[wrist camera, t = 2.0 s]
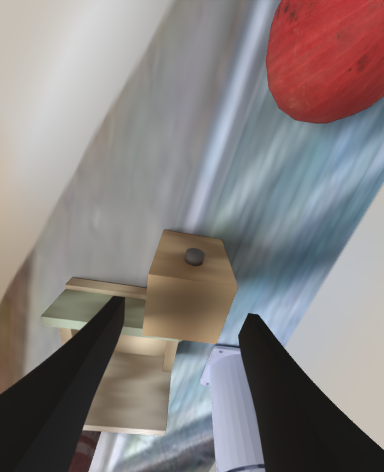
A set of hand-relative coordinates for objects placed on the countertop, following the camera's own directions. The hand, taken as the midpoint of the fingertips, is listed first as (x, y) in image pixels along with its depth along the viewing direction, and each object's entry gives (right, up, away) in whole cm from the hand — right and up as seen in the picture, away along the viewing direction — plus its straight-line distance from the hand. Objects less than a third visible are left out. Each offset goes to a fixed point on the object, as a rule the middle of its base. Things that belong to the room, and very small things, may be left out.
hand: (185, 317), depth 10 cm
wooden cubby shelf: (-7, -4, +9) cm, 12 cm away
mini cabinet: (0, +3, +6) cm, 6 cm away
